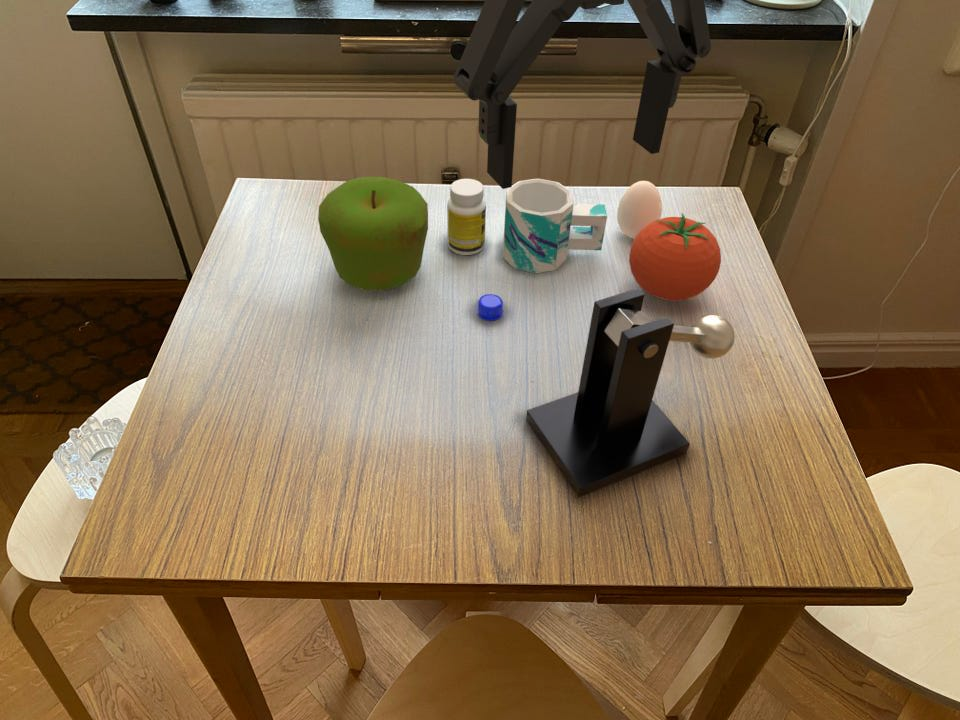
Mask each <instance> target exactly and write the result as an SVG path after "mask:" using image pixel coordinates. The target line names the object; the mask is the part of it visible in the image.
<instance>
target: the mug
mask: <svg viewBox="0 0 960 720" xmlns="http://www.w3.org/2000/svg"><path fill="white" fill-rule="evenodd" d="M607 219H608V214H607V209H606V204H599V203H595V204H594V203H574V194H573V191H572V190H571V189H569V188H568V187H566V186H564V185H563V184H561V183H560V182H558V181H553V180H549V179H542V178H532V179H524V180H519V181H517V182H515V183H514V184H512V187H510V188H506V192H505V209H504V224H503V228H504V229H503V241H502V243H503V244H502V254H503V255H502V256H503V258H502V259H503V260H504V261H506V262H507V264H509V265H510V266H511V267H513V269H515V270H517V271H518V270H519V271H524V272H528V273H533V274H539V273H546V272H553V271H556V270H557V269H559V267H560V266H562V264H564V263H565V262H566V261H567V255H568V250H570V251H573V250H574V251H602V248H603V242H604V237H605V233H606V232H605V231H606V227H607V221H608V220H607Z"/></svg>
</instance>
